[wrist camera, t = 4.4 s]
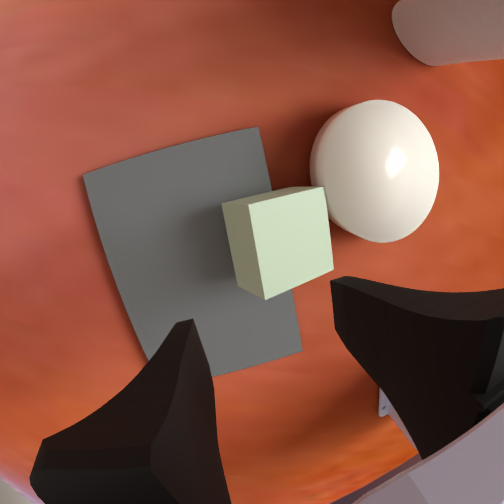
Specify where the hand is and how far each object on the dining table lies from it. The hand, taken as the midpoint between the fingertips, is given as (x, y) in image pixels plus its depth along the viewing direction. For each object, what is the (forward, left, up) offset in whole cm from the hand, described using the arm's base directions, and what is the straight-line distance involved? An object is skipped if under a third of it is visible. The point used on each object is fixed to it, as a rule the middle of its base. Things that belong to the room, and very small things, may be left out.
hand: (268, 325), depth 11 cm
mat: (-1, +2, -10) cm, 10 cm away
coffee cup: (+14, -19, -10) cm, 26 cm away
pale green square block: (+1, -2, -9) cm, 9 cm away
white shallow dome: (+3, -10, -10) cm, 15 cm away
